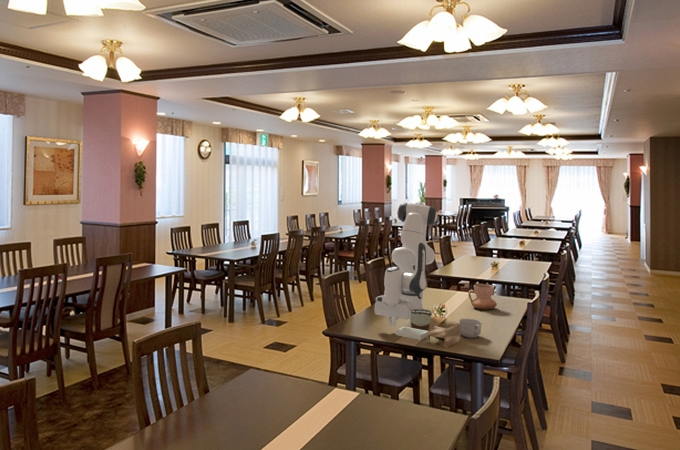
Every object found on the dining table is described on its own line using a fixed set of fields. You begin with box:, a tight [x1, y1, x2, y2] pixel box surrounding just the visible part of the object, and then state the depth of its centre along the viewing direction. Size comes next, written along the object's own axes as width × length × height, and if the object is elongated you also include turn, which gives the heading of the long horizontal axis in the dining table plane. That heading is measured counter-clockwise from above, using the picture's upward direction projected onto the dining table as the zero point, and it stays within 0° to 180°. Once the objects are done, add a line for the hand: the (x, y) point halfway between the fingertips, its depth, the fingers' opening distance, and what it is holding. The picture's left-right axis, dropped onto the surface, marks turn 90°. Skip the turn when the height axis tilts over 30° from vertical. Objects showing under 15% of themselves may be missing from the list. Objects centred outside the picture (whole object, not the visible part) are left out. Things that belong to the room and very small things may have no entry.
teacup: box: [459, 318, 483, 339], centre depth 255 cm, size 14×11×8 cm
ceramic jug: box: [467, 284, 499, 311], centre depth 315 cm, size 18×14×14 cm
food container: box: [409, 308, 433, 332], centre depth 269 cm, size 12×6×10 cm, turn 71°
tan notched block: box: [426, 323, 461, 348], centre depth 247 cm, size 14×14×8 cm
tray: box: [395, 326, 430, 341], centre depth 257 cm, size 14×8×3 cm, turn 53°
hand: (392, 325), depth 264 cm, fingers closed
